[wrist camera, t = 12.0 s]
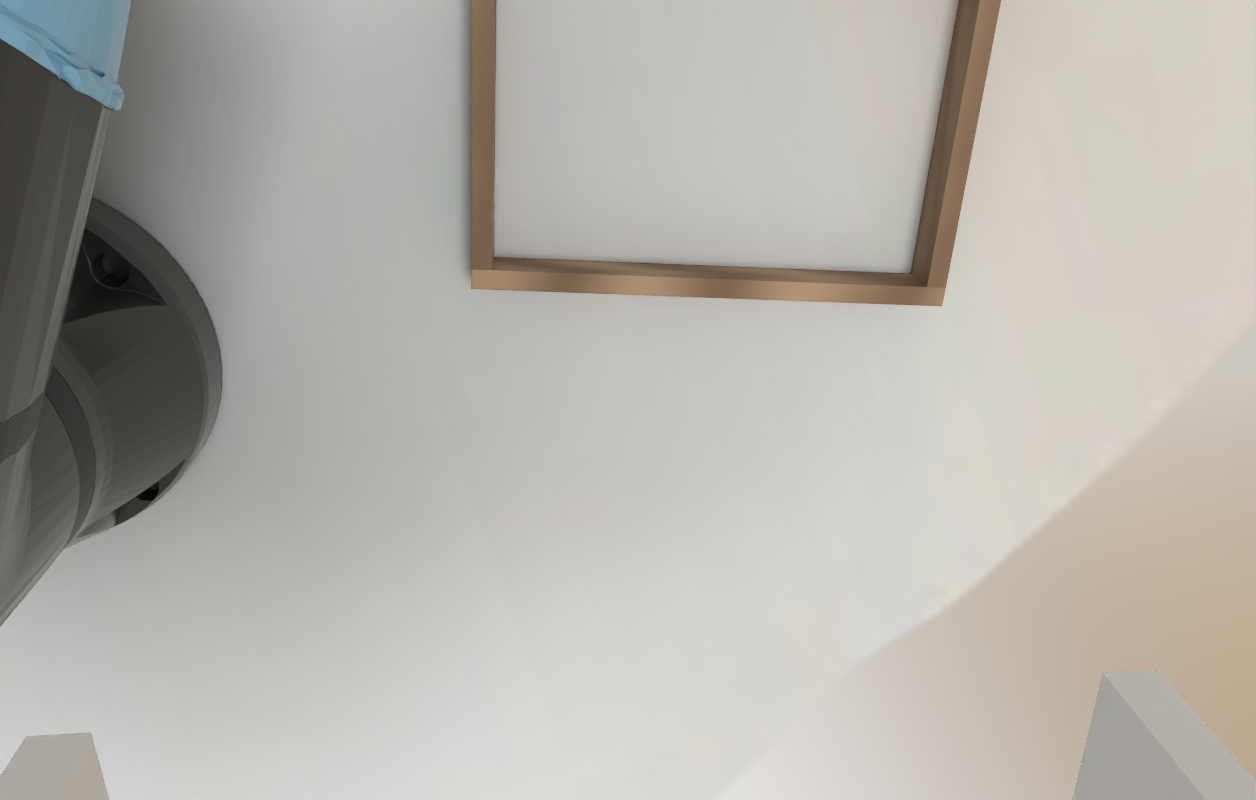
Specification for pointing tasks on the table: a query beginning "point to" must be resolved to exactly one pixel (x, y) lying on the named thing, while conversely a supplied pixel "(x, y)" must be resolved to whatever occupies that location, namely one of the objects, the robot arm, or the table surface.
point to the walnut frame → (746, 282)
